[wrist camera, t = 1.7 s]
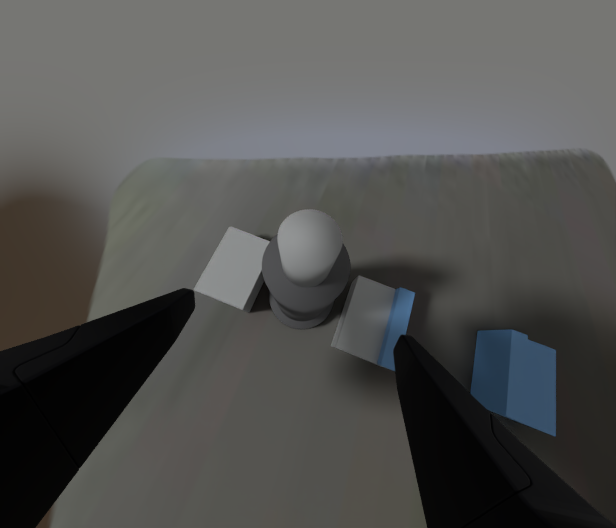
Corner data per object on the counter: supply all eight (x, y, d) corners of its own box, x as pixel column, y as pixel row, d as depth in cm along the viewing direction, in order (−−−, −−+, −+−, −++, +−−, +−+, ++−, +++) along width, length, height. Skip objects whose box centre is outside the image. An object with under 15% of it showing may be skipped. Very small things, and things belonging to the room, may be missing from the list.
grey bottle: (301, 343, 19) (309, 354, 7) (257, 296, 20) (199, 234, 8) (345, 297, 20) (415, 241, 8) (302, 256, 21) (310, 153, 9)
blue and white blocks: (205, 295, 19) (188, 287, 16) (237, 238, 21) (227, 221, 18) (520, 423, 18) (569, 442, 14) (524, 348, 19) (568, 350, 16)
